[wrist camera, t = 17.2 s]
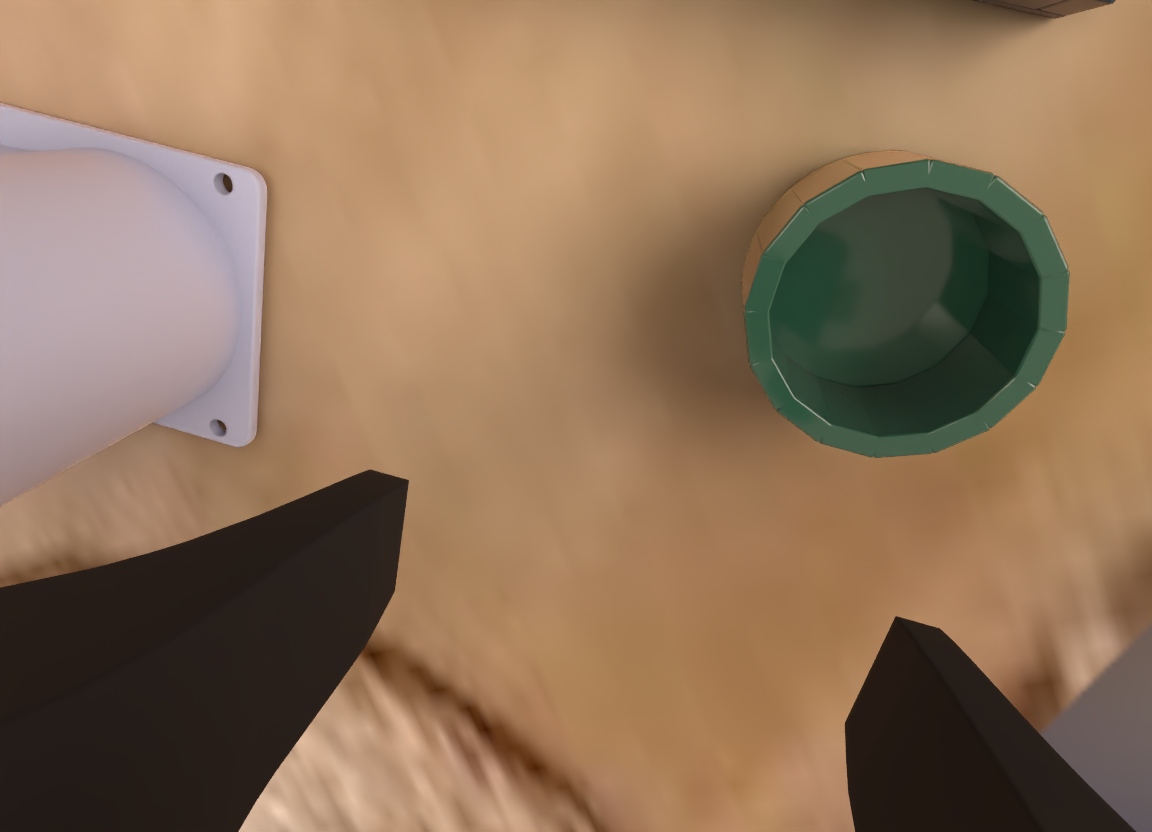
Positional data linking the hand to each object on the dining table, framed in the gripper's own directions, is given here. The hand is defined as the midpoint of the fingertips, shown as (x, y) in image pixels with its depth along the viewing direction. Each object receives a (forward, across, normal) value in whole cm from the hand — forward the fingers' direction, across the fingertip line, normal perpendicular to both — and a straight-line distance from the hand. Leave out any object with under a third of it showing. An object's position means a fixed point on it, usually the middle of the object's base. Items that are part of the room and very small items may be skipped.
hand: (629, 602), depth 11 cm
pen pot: (+9, -4, -4) cm, 11 cm away
